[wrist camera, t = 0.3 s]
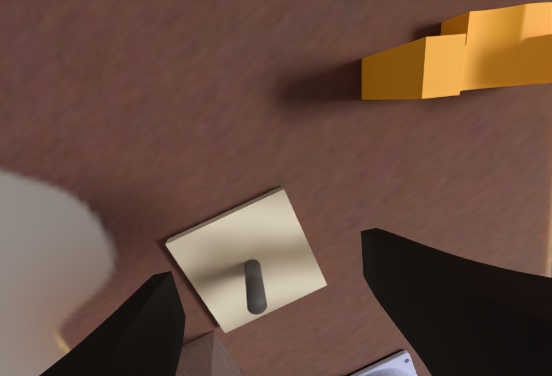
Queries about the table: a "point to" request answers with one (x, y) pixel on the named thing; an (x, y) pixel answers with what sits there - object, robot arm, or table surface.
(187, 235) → the cream tile with peg
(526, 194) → the table surface
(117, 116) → the table surface
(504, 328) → the robot arm
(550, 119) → the table surface
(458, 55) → the pipe clamp
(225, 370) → the grey hollow cube
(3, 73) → the table surface
